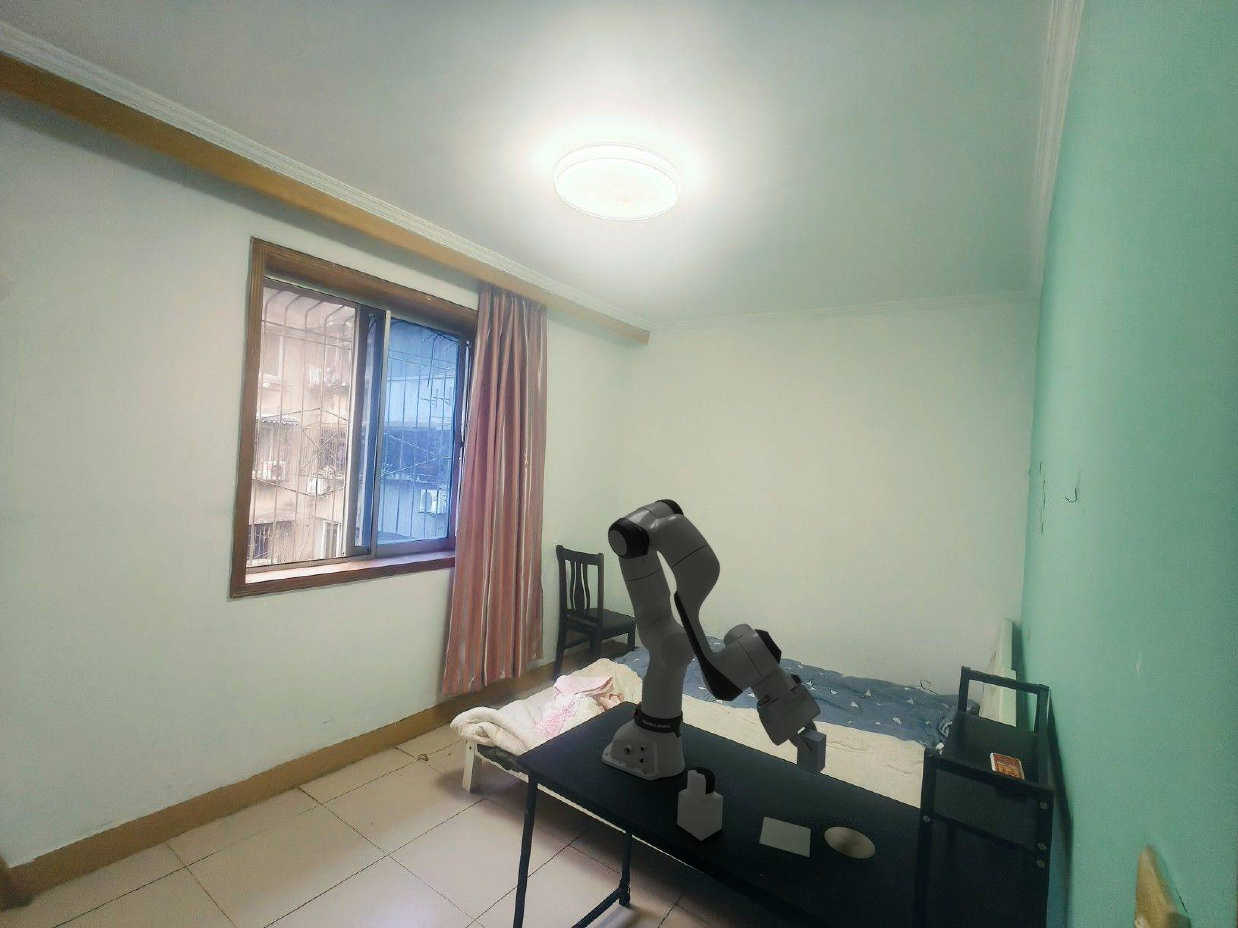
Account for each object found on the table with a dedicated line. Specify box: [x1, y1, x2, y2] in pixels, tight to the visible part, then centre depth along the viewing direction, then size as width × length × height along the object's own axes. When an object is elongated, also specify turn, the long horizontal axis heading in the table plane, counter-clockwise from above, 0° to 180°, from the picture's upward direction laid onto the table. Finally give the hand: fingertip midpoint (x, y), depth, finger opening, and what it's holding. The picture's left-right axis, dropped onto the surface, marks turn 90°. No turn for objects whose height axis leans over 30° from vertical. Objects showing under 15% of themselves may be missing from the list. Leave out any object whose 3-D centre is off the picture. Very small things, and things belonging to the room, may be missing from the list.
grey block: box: [795, 727, 828, 776], centre depth 118 cm, size 5×5×7 cm
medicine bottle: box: [676, 766, 724, 841], centre depth 118 cm, size 7×7×12 cm
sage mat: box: [759, 816, 811, 858], centre depth 116 cm, size 10×10×1 cm
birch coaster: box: [824, 826, 876, 859], centre depth 115 cm, size 10×10×1 cm
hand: (814, 749), depth 117 cm, fingers closed on grey block, 5 cm apart
